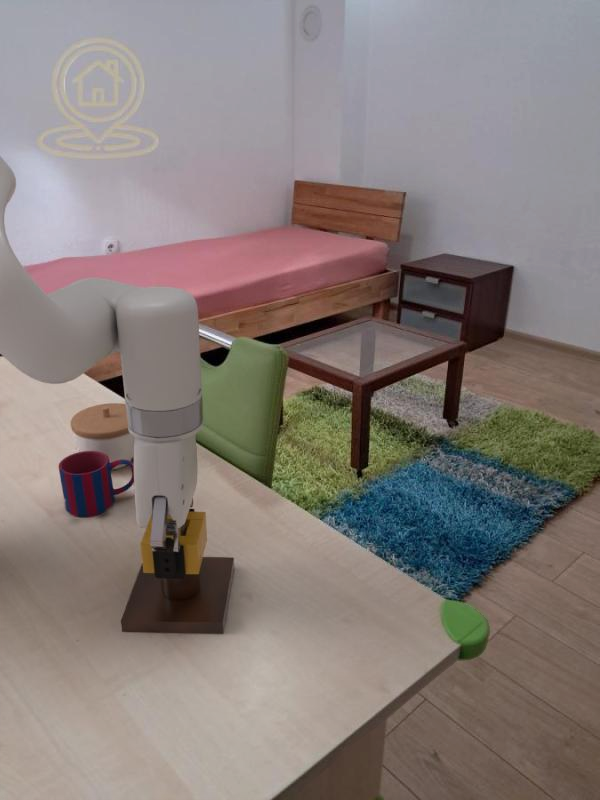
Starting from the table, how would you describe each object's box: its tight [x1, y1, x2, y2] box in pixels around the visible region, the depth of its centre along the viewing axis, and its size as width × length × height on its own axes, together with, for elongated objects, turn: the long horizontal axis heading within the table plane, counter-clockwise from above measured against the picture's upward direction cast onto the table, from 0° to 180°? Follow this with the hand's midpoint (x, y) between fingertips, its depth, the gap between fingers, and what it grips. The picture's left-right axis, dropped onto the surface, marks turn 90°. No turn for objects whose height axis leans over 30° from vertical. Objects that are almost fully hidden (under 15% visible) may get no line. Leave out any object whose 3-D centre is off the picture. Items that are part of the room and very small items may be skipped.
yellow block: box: [140, 511, 208, 574], centre depth 70 cm, size 6×6×4 cm
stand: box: [120, 524, 235, 634], centre depth 71 cm, size 11×11×10 cm
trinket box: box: [70, 402, 135, 471], centre depth 100 cm, size 11×11×9 cm
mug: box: [58, 451, 134, 518], centre depth 89 cm, size 7×10×7 cm
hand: (176, 555), depth 71 cm, fingers closed on yellow block, 6 cm apart
